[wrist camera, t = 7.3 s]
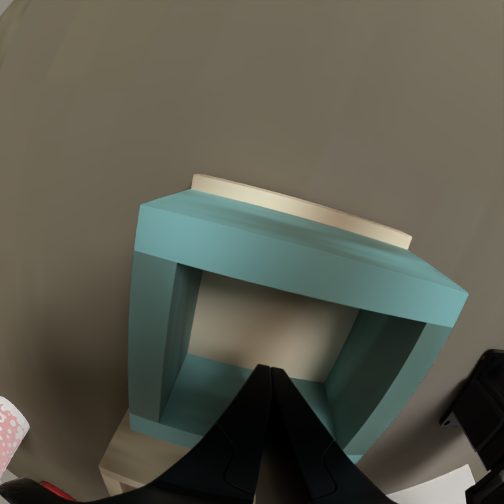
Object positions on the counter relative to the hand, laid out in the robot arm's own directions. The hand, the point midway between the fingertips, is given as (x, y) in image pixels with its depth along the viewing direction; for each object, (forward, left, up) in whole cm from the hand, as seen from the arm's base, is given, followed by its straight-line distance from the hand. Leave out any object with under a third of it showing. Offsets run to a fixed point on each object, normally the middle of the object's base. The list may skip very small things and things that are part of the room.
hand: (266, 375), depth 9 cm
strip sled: (0, +7, -3) cm, 8 cm away
